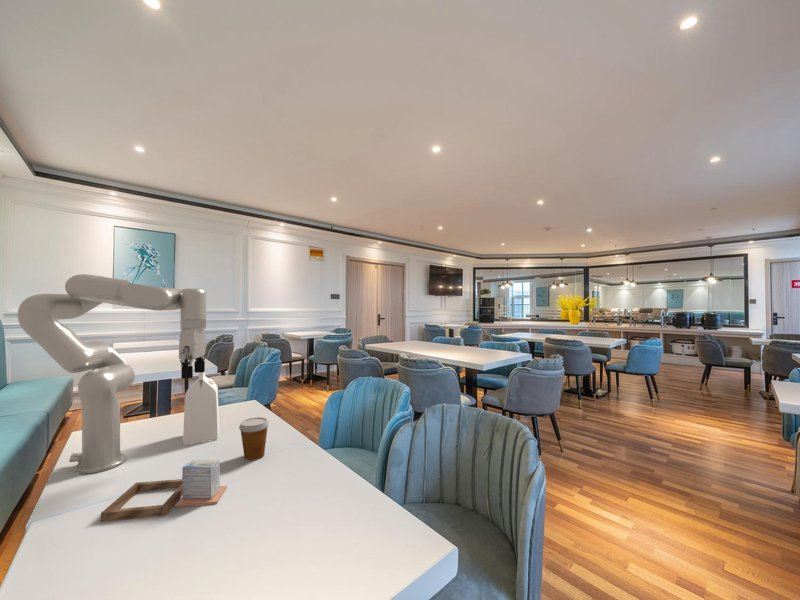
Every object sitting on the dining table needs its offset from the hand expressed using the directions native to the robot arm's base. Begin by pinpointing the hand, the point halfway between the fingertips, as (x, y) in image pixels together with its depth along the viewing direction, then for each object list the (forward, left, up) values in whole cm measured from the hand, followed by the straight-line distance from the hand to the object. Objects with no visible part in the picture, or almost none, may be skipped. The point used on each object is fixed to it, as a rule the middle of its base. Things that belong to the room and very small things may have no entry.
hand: (193, 375), depth 118 cm
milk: (-5, +20, -28) cm, 35 cm away
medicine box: (+12, -26, -28) cm, 40 cm away
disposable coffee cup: (+20, -2, -28) cm, 35 cm away
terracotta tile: (+13, -26, -28) cm, 40 cm away
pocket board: (0, -26, -28) cm, 38 cm away
